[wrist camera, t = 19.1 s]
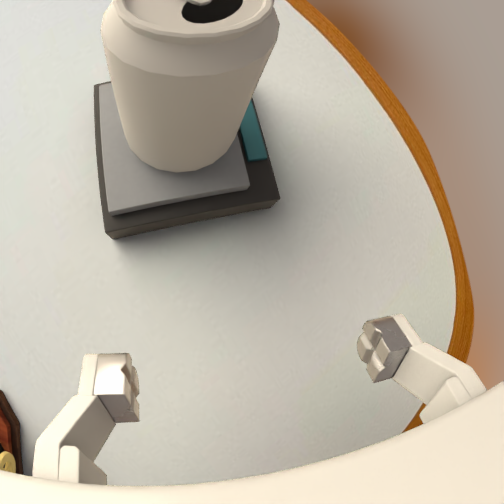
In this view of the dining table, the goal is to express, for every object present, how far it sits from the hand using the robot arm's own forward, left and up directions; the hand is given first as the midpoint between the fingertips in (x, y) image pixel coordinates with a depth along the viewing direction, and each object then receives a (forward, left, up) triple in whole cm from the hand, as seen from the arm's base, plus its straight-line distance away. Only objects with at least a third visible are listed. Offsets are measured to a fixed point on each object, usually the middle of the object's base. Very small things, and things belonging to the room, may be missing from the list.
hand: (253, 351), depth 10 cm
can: (0, -13, -9) cm, 16 cm away
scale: (0, -13, -13) cm, 18 cm away
